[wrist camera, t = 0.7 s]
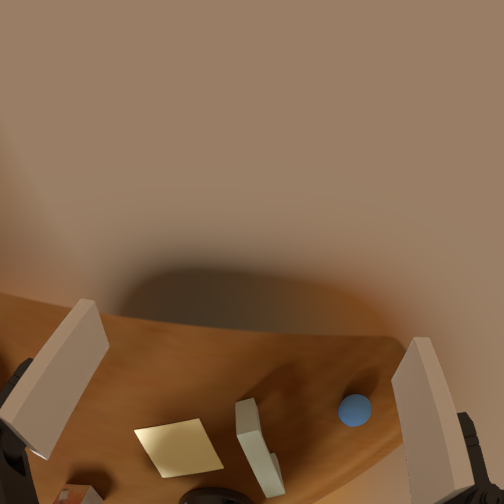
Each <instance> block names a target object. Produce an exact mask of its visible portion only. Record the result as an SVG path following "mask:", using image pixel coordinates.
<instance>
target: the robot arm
mask: <svg viewBox="0 0 504 504" xmlns="http://www.w3.org/2000/svg"><path fill="white" fill-rule="evenodd" d="M109 347H110V346H109V343H108V340H107V337H106V334H105V331H104V328H103V325H102V322H101V319H100V316H99V313H98V310H97V306H96V303H95V301H91V300H87V299H82V298H81V299H80V300H79V302H78V303H77V304H76V305H75V307H74V308H73V309H72V310H71V311H70V313H69V314H68V315H67V316H66V318H65V319H64V320H63V321H62V323H61V324H60V325H59V327H58V328H57V329H56V330H55V332H54V333H53V334H52V336H51V337H50V338H49V340H48V341H47V342H46V344H45V345H44V346H43V348H42V349H41V350H40V352H39V353H38V354H37V356H36V357H35V359H32V358H28V359H27V360H25V361H24V362H23V363H21V364H20V365H19V367H18V368H17V369H16V371H15V372H14V374H13V376H11V378H10V379H9V381H8V383H7V384H6V385H5V386H4V388H3V389H2V391H1V392H0V504H39V502H38V498H37V495H36V491H35V487H34V484H33V480H32V475H31V471H30V467H29V462H28V457H27V454H26V451H25V450H24V449H25V447H26V446H27V447H28V448H29V449H30V450H31V451H32V452H34V453H35V454H37V455H39V456H41V457H42V458H44V459H46V460H48V459H49V457H50V455H51V452H52V450H53V448H54V446H55V444H56V442H57V440H58V438H59V437H60V435H61V433H62V431H63V429H64V427H65V425H66V423H67V421H68V419H69V417H70V415H71V414H72V412H73V410H74V408H75V406H76V404H77V402H78V401H79V399H80V397H81V395H82V393H83V392H84V390H85V388H86V386H87V384H88V383H89V381H90V379H91V377H92V376H93V374H94V372H95V370H96V369H97V367H98V365H99V364H100V362H101V360H102V358H103V357H104V355H105V353H106V352H107V350H108V348H109ZM391 381H392V386H393V390H394V395H395V400H396V404H397V409H398V414H399V420H400V425H401V431H402V436H403V442H404V448H405V454H406V461H407V468H408V476H409V484H410V492H411V501H412V504H504V490H500V489H499V487H498V486H496V485H495V484H492V483H491V482H490V481H489V478H488V475H487V470H486V467H485V462H484V458H483V454H482V451H481V448H480V446H479V440H478V437H477V436H476V434H477V433H476V430H475V427H474V424H473V421H472V420H471V419H470V417H469V416H468V414H467V413H466V412H463V413H456V410H455V407H454V404H453V400H452V398H451V394H450V391H449V388H448V385H447V383H446V380H445V377H444V374H443V371H442V369H441V366H440V363H439V361H438V358H437V355H436V353H435V350H434V348H433V345H432V343H431V340H430V338H429V337H413V339H412V341H411V343H410V345H409V348H408V349H407V351H406V353H405V355H404V357H403V359H402V361H401V363H400V365H399V367H398V369H397V370H396V372H395V374H394V376H393V378H392V379H391ZM179 504H252V502H251V501H250V500H249V499H248V498H247V497H245V496H244V495H242V494H240V493H238V492H235V491H232V490H227V489H221V488H203V489H197V490H194V491H191V492H189V493H187V494H185V495H184V496H183V497H182V498H181V499H180V501H179Z"/></svg>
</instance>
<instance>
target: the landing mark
mask: <svg viewBox="0 0 504 504" xmlns="http://www.w3.org/2000/svg"><path fill="white" fill-rule="evenodd" d="M134 431H135V433H136V435H137V436H138V438H139V440H140V442H141V443H142V445H143V447H144V448H145V450H146V452H147V453H148V455H149V457H150V458H151V460H152V461H153V463H154V465H155V466H156V468H157V469H158V471H159V472H160V474H161V475H162V477H163V478H165V477H174V476H182V475H189V474H195V473H202V472H207V471H213V470H218V469H223V468H224V467H223V465H222V463H221V461H220V459H219V457H218V455H217V453H216V452H215V450H214V448H213V446H212V444H211V442H210V440H209V438H208V436H207V434H206V432H205V430H204V427H203V425H202V423H201V421H200V419H199V418H197V419H192V420H187V421H183V422H177V423H172V424H167V425H161V426H155V427H149V428H142V429H135V430H134Z"/></svg>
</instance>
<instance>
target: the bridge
mask: <svg viewBox="0 0 504 504" xmlns="http://www.w3.org/2000/svg"><path fill="white" fill-rule="evenodd" d="M235 412H236V435H237V438H238V440H239V442H240V444H241V446H242V449H243V451H244V453H245V455H246V457H247V459H248V461H249V464H250V466H251V468H252V470H253V472H254V474H255V476H256V478H257V480H258V482H259V484H260V486H261V488H262V490H263V492H264V494H265V496H266V498H270V497H274V496H278V495H282V494H286V493H285V489H284V484H283V480H282V476H281V472H280V467H279V463H278V459H277V457H276V454H275V452H274V453H271V454H270V453H269V451H268V449H267V446H266V444H265V441H264V439H263V436H262V432H261V426H260V420H259V414H258V408H257V405H256V403H255V400H254V397H253V398H250V399H246V400H243V401H239V402H235Z"/></svg>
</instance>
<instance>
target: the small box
mask: <svg viewBox="0 0 504 504" xmlns="http://www.w3.org/2000/svg"><path fill="white" fill-rule="evenodd" d="M103 502H104V501H103V500H102V498H101V497H100V496H99V495H98V494H97V492H96V491H95V490H94V488H93V487H92V486H91V485H75V484H65V485H64V487H63V488H62V490H61V491H60V493H59V495H58V496H57V498H56V499H55V501H54V503H53V504H103Z"/></svg>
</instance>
